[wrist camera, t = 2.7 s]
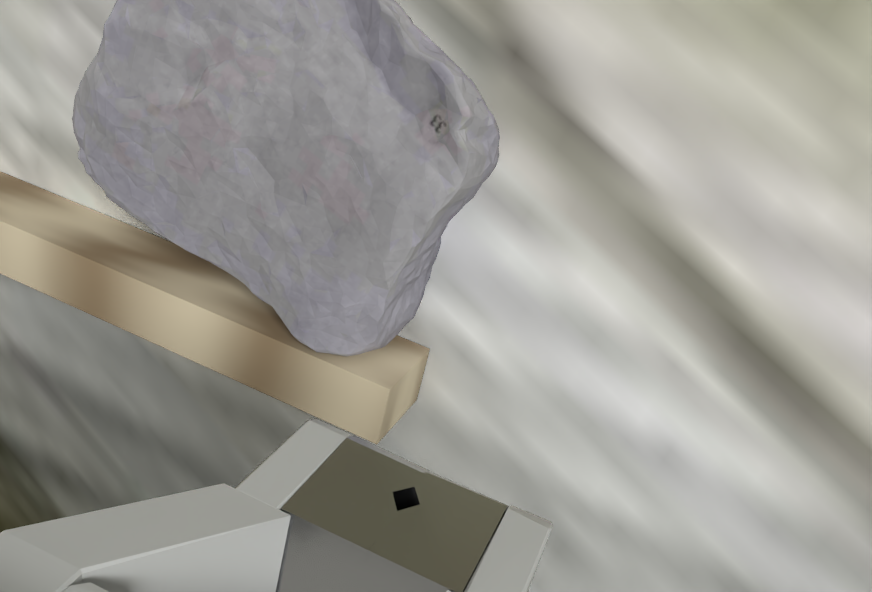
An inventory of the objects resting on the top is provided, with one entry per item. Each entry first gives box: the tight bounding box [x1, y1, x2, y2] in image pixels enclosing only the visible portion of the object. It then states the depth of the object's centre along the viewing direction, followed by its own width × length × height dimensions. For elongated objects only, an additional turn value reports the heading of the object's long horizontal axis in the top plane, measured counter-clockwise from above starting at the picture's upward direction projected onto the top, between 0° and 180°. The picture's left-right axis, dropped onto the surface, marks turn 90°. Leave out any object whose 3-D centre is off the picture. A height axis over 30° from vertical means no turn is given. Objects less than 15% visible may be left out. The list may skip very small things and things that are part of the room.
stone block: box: [72, 0, 500, 356], centre depth 24 cm, size 12×5×10 cm
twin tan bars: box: [0, 172, 430, 444], centre depth 24 cm, size 21×18×4 cm
